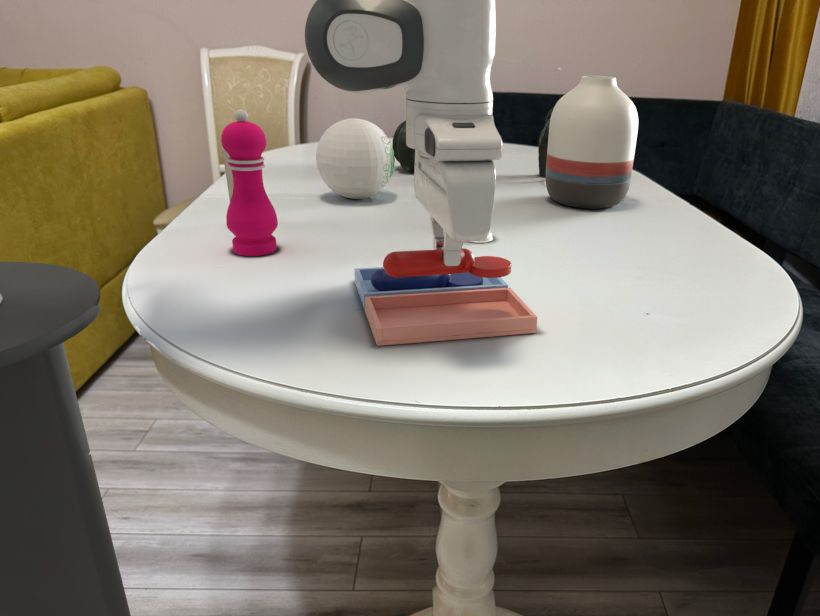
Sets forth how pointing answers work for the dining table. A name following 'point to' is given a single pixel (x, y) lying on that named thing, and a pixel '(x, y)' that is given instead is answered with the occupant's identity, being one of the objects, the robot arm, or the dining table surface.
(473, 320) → the red tray
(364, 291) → the blue tray
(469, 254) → the red spoon
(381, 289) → the blue spoon
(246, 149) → the pepper mill
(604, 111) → the vase
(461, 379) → the dining table surface
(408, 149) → the squash
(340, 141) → the decorative object
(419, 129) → the robot arm
